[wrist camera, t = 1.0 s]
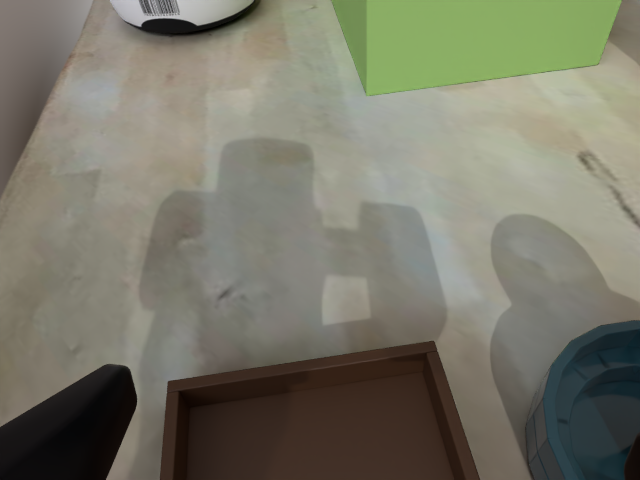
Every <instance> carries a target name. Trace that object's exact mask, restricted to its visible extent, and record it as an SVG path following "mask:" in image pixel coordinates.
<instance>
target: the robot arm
mask: <svg viewBox="0 0 640 480" xmlns="http://www.w3.org/2000/svg"><path fill="white" fill-rule="evenodd" d="M136 405H137V395H136V391H135V387H134V383H133V379H132V375H131V371H130V369H129V368H128V367H127V366H123V365H115V364H107V365H104V366H102V367H100V368H99V369H97V370H95V371H94V372H92V373H90V374H89V375H87V376H85V377H84V378H82V379H80V380H79V381H77V382H75V383H74V384H72V385H70V386H68V387H67V388H65V389H63V390H62V391H60V392H58V393H57V394H55V395H53V396H52V397H50V398H48V399H47V400H45V401H43V402H42V403H40V404H38V405H37V406H35V407H33V408H32V409H30V410H28V411H26V412H25V413H23V414H21V415H20V416H18V417H16V418H15V419H13V420H11V421H10V422H8V423H6V424H5V425H3V426H1V427H0V480H106V478H107V476H108V474H109V471H110V469H111V467H112V464H113V462H114V459H115V457H116V455H117V452H118V450H119V447H120V445H121V443H122V440H123V438H124V435H125V433H126V431H127V428H128V426H129V424H130V421H131V419H132V416H133V414H134V412H135V409H136ZM624 479H625V480H640V432H639V433H638V434H637V435H636V437H635V439H634V442H633V444H632V446H631V449H630V451H629V454H628V456H627V458H626V461H625V464H624Z"/></svg>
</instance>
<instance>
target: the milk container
mask: <svg viewBox="0 0 640 480" xmlns="http://www.w3.org/2000/svg"><path fill="white" fill-rule="evenodd" d="M110 2H111V4H112V5H113V7H114V9H115V10H116V12H117V13H118V15H119V16H120V17H121V18H122V19H123V20H124V21H125V22H126V23H128V24H130V25H132V26H135V27H137V28H140V29H142V30H145V31H150V32H158V33H165V34H167V33H186V32H193V31H198V30H202V29H208V28H212V27H215V26H218V25H220V24H223V23H225V22H228V21H231V20H233V19H235V18H236V17H237V16H239V15H240V14H242V13H244V12H245V11H247V10H248V9H249V8H250V6H251V5H252V4H253V3H254V2H255V0H110Z"/></svg>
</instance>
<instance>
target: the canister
mask: <svg viewBox="0 0 640 480" xmlns="http://www.w3.org/2000/svg"><path fill="white" fill-rule="evenodd" d="M331 1H332V3H333V6H334V9H335V12H336V14H337V17H338V20H339V23H340V25H341V28H342V31H343V33H344V36H345V39H346V42H347V44H348V47H349V50H350V52H351V55H352V58H353V60H354V63H355V66H356V69H357V71H358V74H359V77H360V79H361V82H362V85H363V87H364V90H365V93H366V95H367V96H371V95H378V94H386V93H393V92H400V91H408V90H415V89H422V88H430V87H437V86H444V85H452V84H459V83H467V82H474V81H482V80H489V79H496V78H503V77H511V76H518V75H526V74H533V73H540V72H548V71H555V70H563V69H570V68H578V67H585V66H592V65H598V64H599V61H600V58H601V56H602V53H603V50H604V47H605V45H606V42H607V39H608V37H609V34H610V31H611V29H612V26H613V23H614V20H615V18H616V15H617V12H618V10H619V7H620V4H621V1H622V0H331Z"/></svg>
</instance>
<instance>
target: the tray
mask: <svg viewBox="0 0 640 480" xmlns="http://www.w3.org/2000/svg"><path fill="white" fill-rule="evenodd" d="M160 480H480V478H479V475H478V472H477V469H476V466H475V463H474V460H473V457H472V454H471V451H470V448H469V445H468V442H467V439H466V436H465V433H464V430H463V427H462V424H461V421H460V417H459V414H458V411H457V408H456V405H455V402H454V399H453V396H452V393H451V390H450V387H449V384H448V381H447V378H446V375H445V372H444V369H443V366H442V363H441V360H440V357H439V354H438V352H437V348H436V345H435V342H434V341H429V342H422V343H416V344H409V345H403V346H396V347H389V348H383V349H376V350H370V351H363V352H357V353H350V354H344V355H337V356H330V357H324V358H317V359H311V360H304V361H298V362H291V363H285V364H278V365H271V366H265V367H258V368H252V369H245V370H239V371H232V372H226V373H219V374H212V375H206V376H199V377H193V378H186V379H180V380H173V381H168V386H167V398H166V411H165V423H164V435H163V447H162V459H161V472H160Z"/></svg>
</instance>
